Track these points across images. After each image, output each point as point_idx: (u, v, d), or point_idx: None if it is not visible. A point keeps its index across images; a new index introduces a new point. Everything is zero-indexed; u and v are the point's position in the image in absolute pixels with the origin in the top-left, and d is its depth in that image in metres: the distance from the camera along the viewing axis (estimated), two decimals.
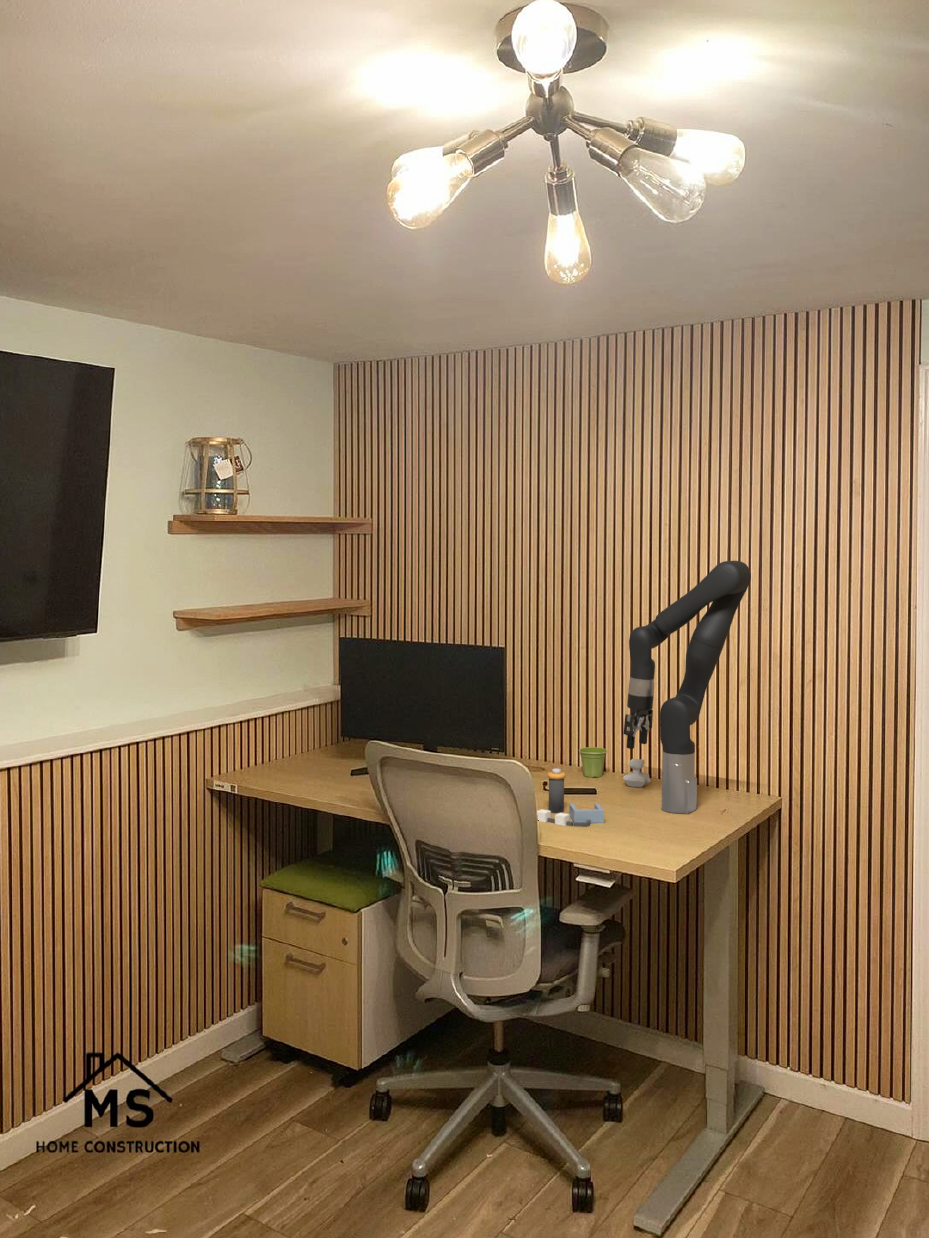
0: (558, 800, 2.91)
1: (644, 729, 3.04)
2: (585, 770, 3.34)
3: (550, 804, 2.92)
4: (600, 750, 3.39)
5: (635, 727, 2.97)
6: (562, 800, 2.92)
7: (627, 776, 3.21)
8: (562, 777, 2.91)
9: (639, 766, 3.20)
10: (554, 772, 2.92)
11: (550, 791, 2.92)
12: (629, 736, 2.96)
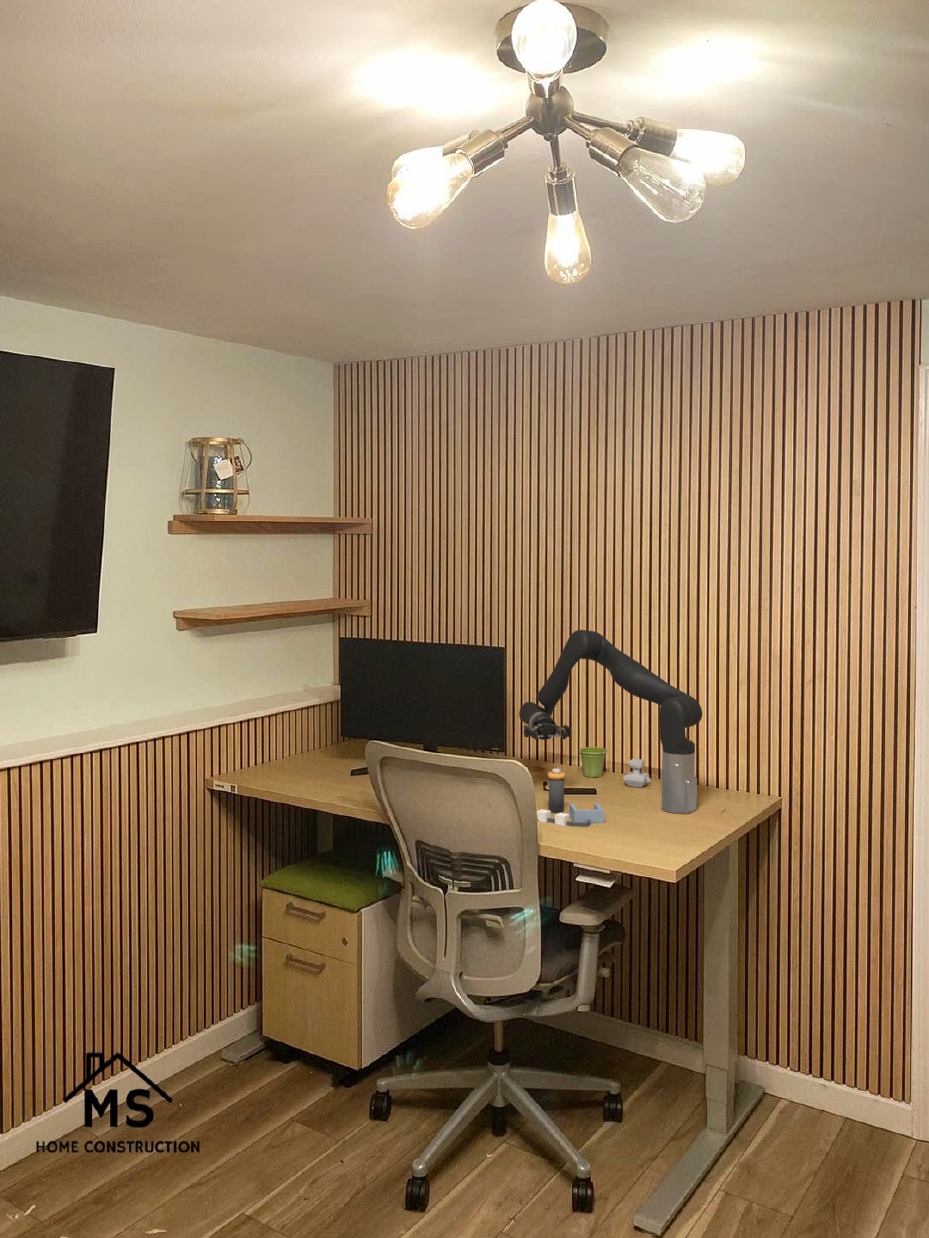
0: (558, 800, 2.91)
1: (561, 732, 3.08)
2: (585, 770, 3.34)
3: (550, 804, 2.92)
4: (600, 750, 3.39)
5: None
6: (562, 800, 2.92)
7: (627, 776, 3.21)
8: (562, 777, 2.91)
9: (639, 766, 3.20)
10: (554, 772, 2.92)
11: (550, 791, 2.92)
12: (530, 733, 3.07)
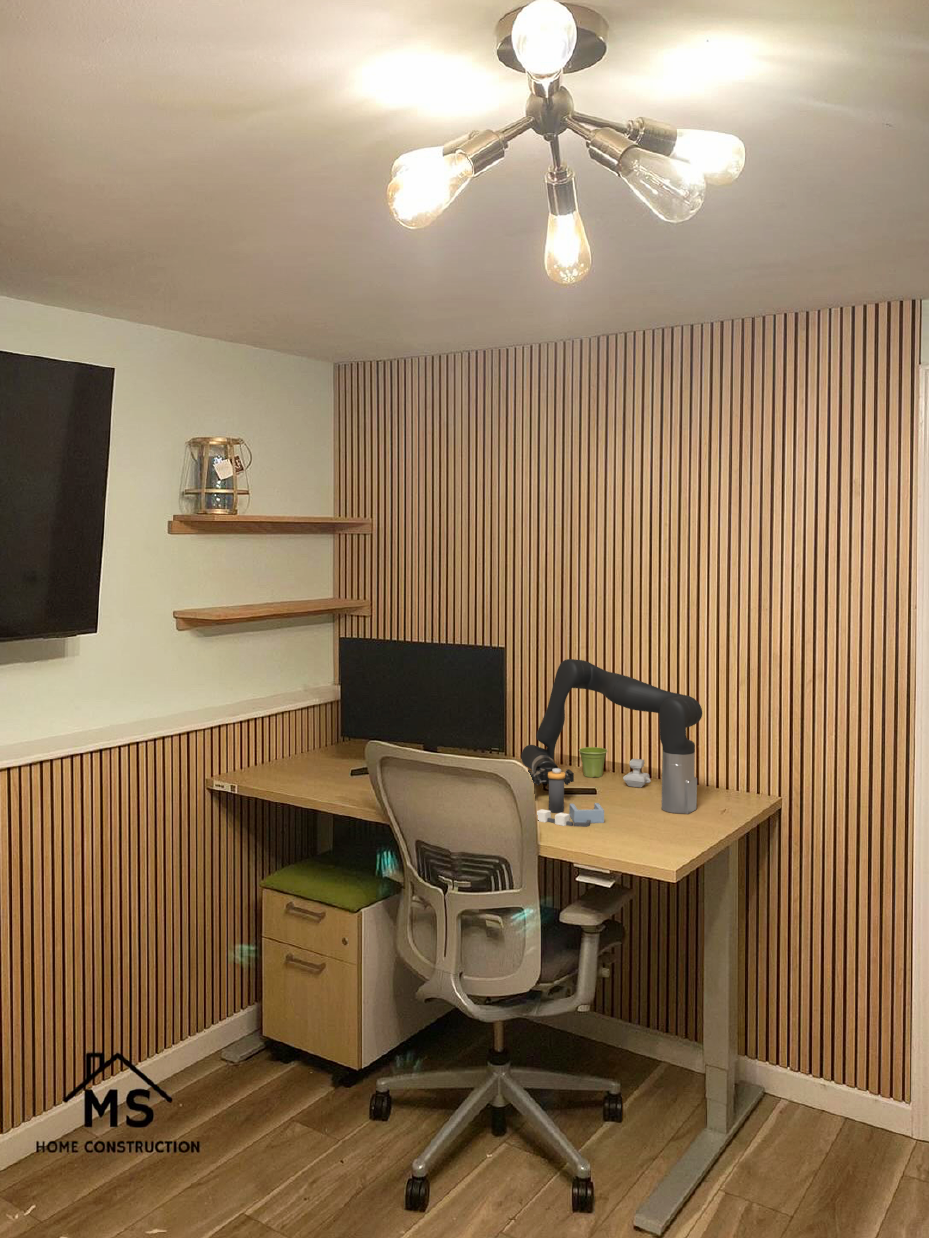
0: (558, 800, 2.91)
1: None
2: (585, 770, 3.34)
3: (550, 804, 2.92)
4: (600, 750, 3.39)
5: None
6: (562, 800, 2.92)
7: (627, 776, 3.21)
8: (562, 777, 2.91)
9: (639, 766, 3.20)
10: (554, 772, 2.92)
11: (550, 791, 2.92)
12: (533, 778, 3.03)
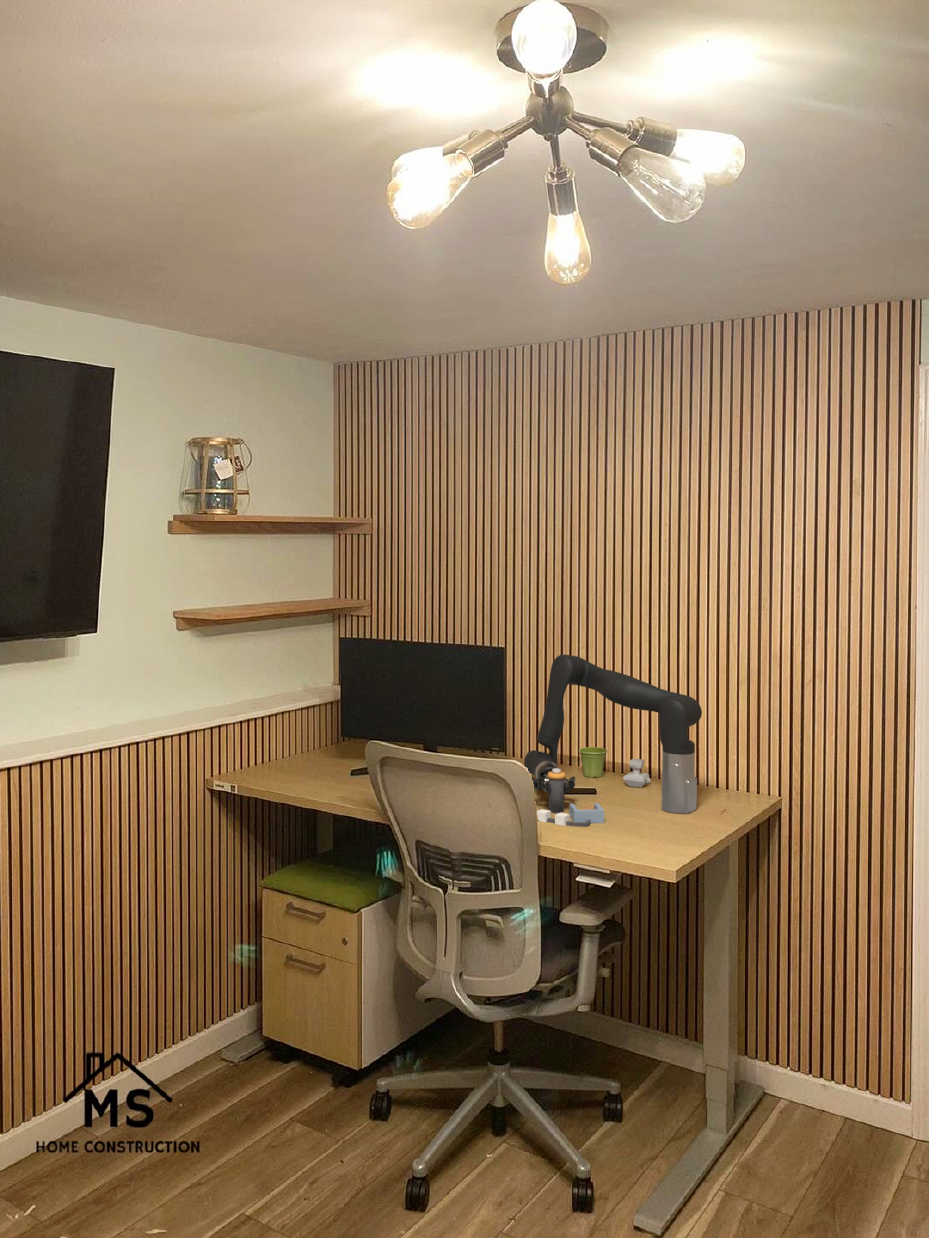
0: (558, 800, 2.91)
1: None
2: (585, 770, 3.34)
3: (550, 804, 2.92)
4: (600, 750, 3.39)
5: (544, 780, 2.97)
6: (562, 800, 2.92)
7: (627, 776, 3.21)
8: (562, 777, 2.91)
9: (639, 766, 3.20)
10: (554, 772, 2.92)
11: None
12: (543, 786, 2.94)
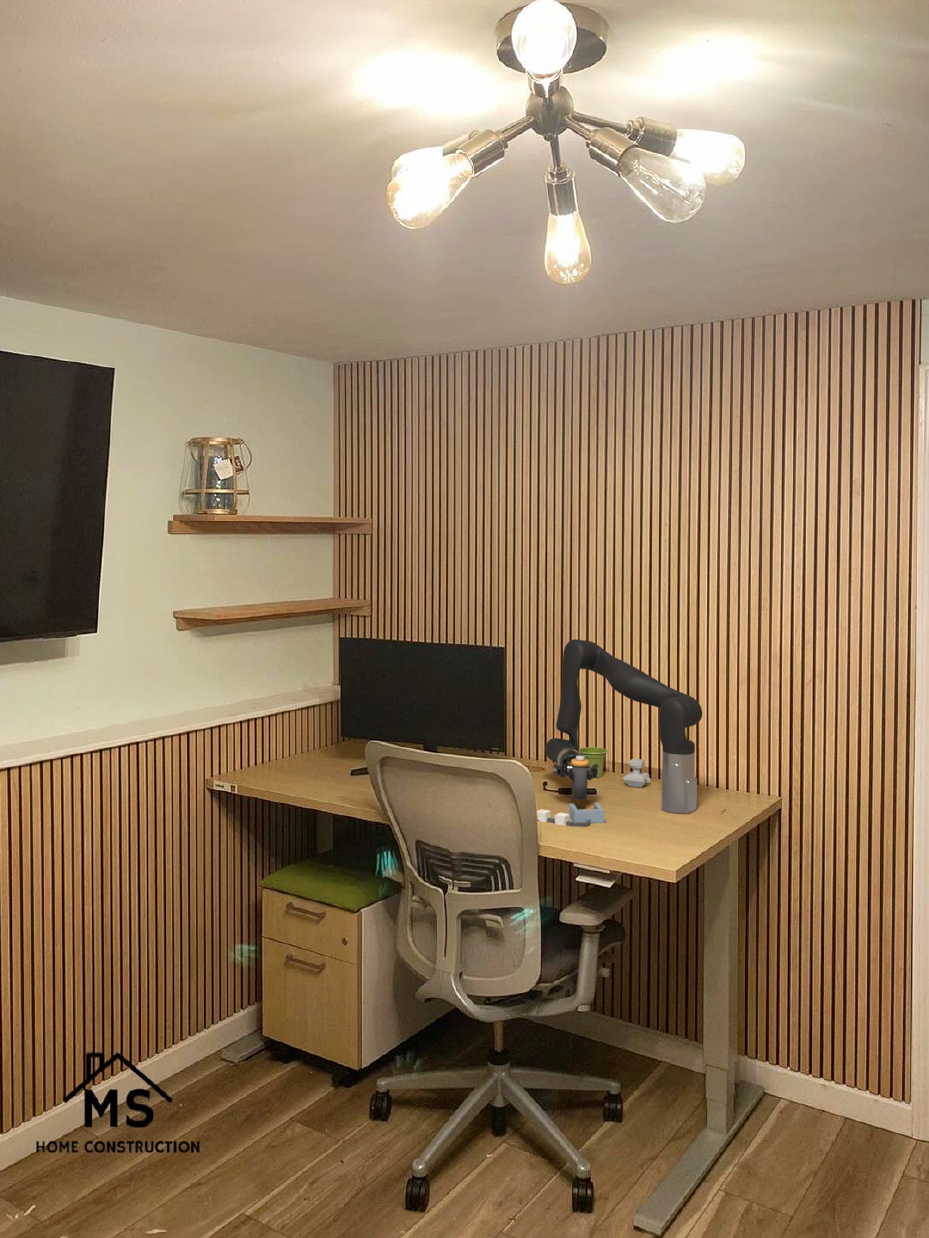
0: (581, 787, 2.92)
1: None
2: None
3: (573, 791, 2.93)
4: (600, 750, 3.39)
5: (567, 768, 2.98)
6: (585, 787, 2.93)
7: (627, 776, 3.21)
8: (586, 764, 2.92)
9: (639, 766, 3.20)
10: (578, 759, 2.93)
11: None
12: (566, 773, 2.95)
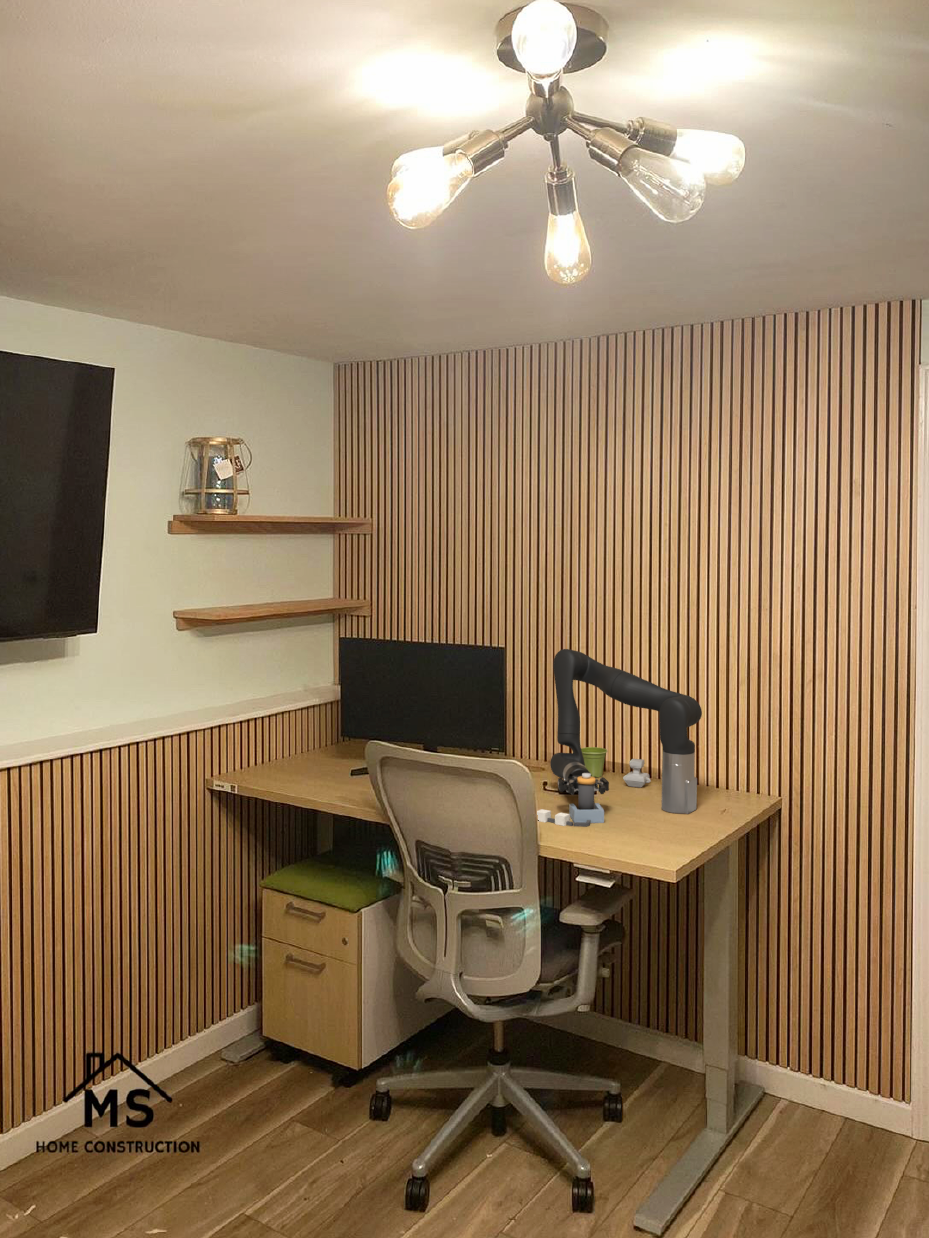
0: (588, 806, 2.83)
1: None
2: None
3: None
4: (600, 750, 3.39)
5: None
6: (592, 806, 2.84)
7: (627, 776, 3.21)
8: (592, 782, 2.83)
9: (639, 766, 3.20)
10: (584, 777, 2.84)
11: (580, 796, 2.84)
12: (566, 787, 2.86)
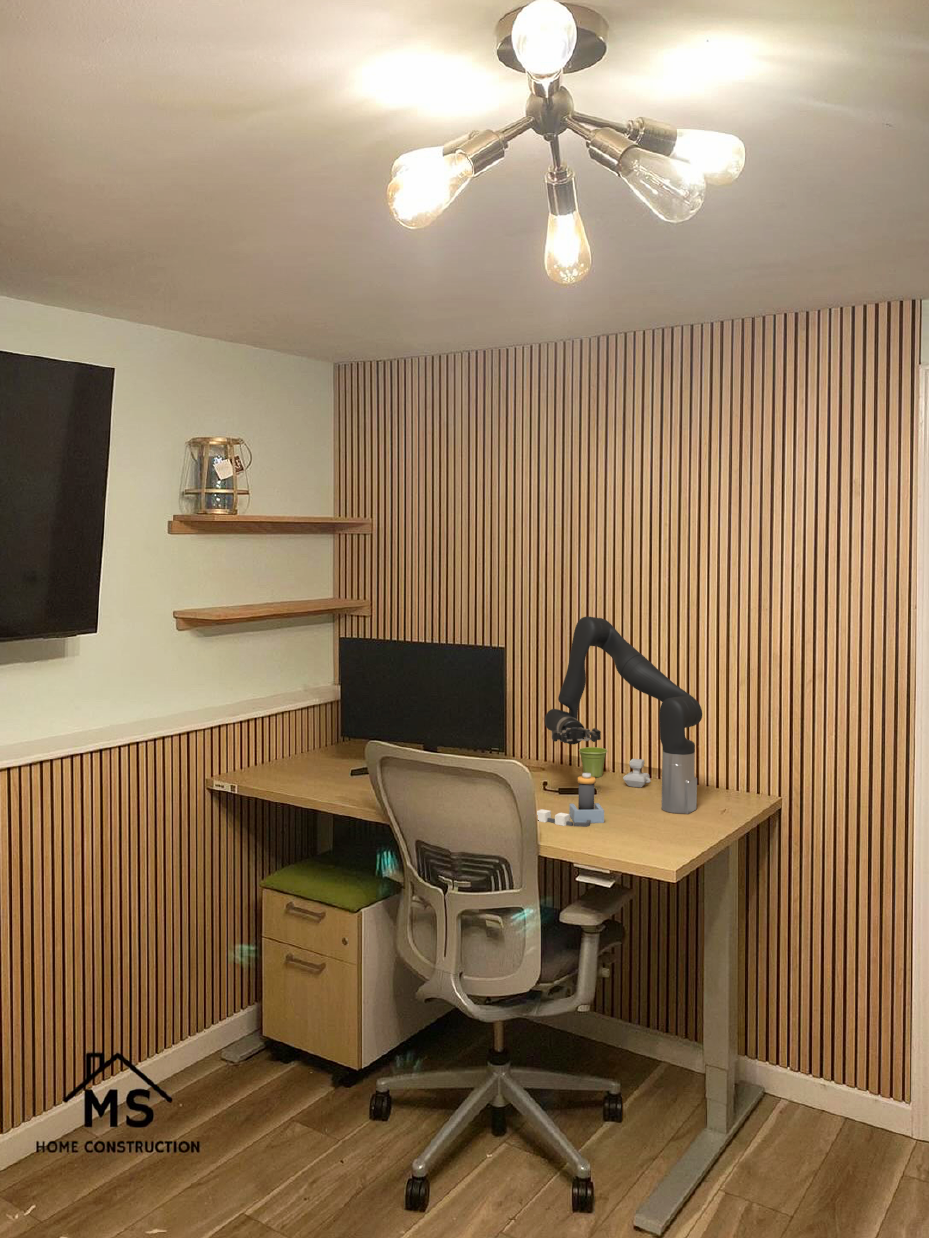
0: (588, 805, 2.83)
1: None
2: (585, 770, 3.34)
3: None
4: (600, 750, 3.39)
5: None
6: (592, 806, 2.84)
7: (627, 776, 3.21)
8: (592, 782, 2.83)
9: (639, 766, 3.20)
10: (584, 777, 2.84)
11: (580, 796, 2.84)
12: (559, 737, 2.98)
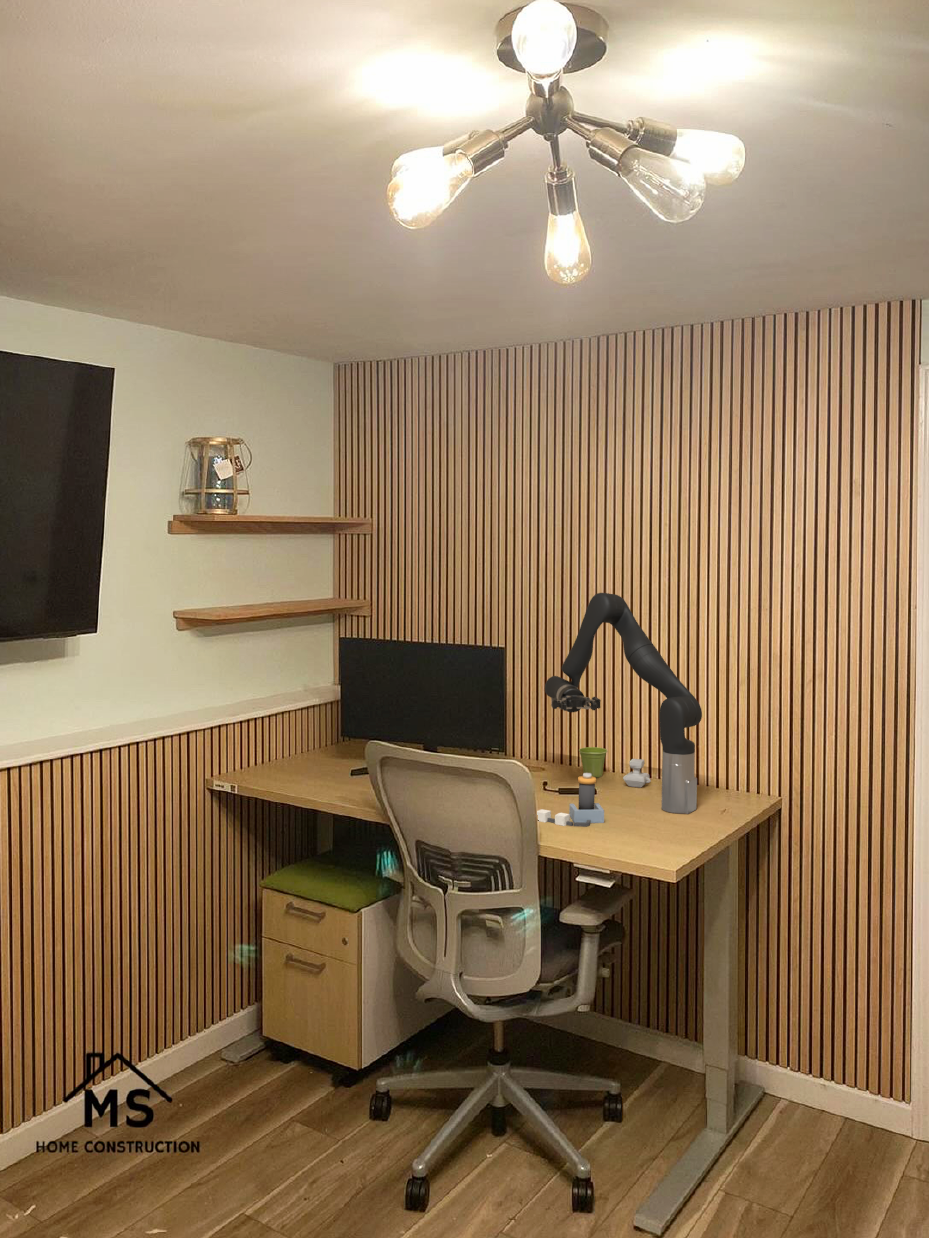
0: (588, 806, 2.83)
1: None
2: (585, 770, 3.34)
3: None
4: (600, 750, 3.39)
5: None
6: (592, 806, 2.84)
7: (627, 776, 3.21)
8: (593, 782, 2.83)
9: (639, 766, 3.20)
10: (585, 777, 2.84)
11: (580, 796, 2.84)
12: (559, 705, 2.98)
